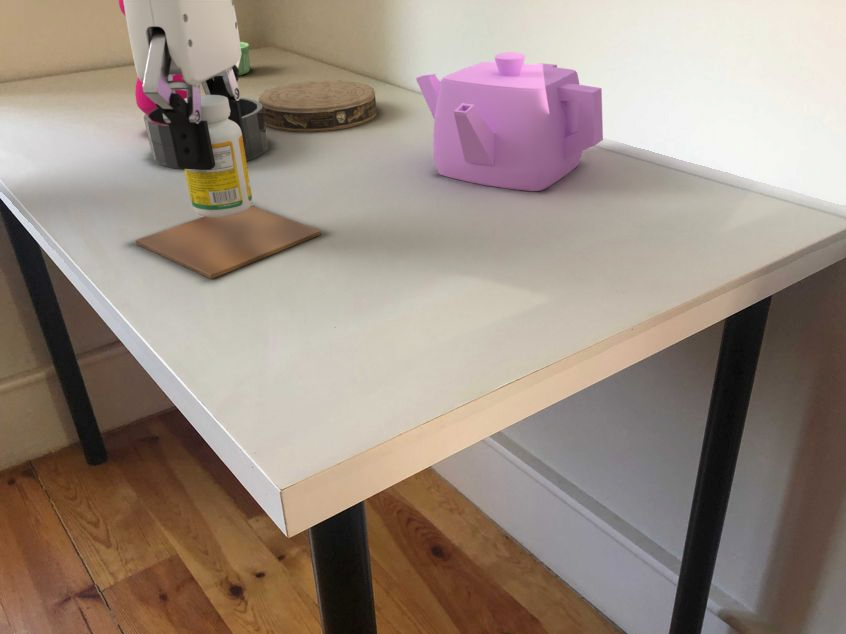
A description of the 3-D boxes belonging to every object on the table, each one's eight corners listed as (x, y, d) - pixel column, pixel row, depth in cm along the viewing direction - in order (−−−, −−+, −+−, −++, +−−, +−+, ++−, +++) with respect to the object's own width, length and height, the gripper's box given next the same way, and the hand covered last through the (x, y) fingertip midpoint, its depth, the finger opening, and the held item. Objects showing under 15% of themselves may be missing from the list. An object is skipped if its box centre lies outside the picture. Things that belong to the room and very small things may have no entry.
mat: (211, 279, 66) (210, 275, 66) (136, 244, 73) (135, 240, 73) (321, 234, 74) (320, 230, 74) (244, 206, 81) (243, 202, 81)
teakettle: (609, 184, 84) (618, 63, 78) (454, 203, 80) (450, 77, 74) (552, 140, 98) (556, 34, 92) (418, 154, 94) (412, 45, 88)
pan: (195, 177, 89) (185, 132, 87) (132, 155, 97) (121, 113, 94) (290, 148, 98) (285, 107, 95) (225, 129, 106) (219, 91, 103)
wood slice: (243, 114, 112) (239, 92, 111) (342, 96, 120) (339, 75, 119) (293, 139, 101) (290, 115, 100) (398, 117, 109) (397, 94, 108)
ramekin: (239, 65, 142) (234, 39, 139) (262, 73, 136) (258, 45, 133) (191, 73, 137) (185, 46, 135) (213, 81, 131) (208, 53, 129)
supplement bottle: (228, 222, 69) (206, 110, 64) (180, 214, 71) (156, 105, 66) (265, 201, 73) (248, 95, 68) (219, 194, 75) (199, 90, 70)
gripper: (178, -83, 68) (217, 129, 77) (54, -69, 54) (121, 188, 63) (260, -84, 67) (290, 131, 76) (156, -71, 52) (208, 192, 62)
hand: (213, 155), depth 69 cm, fingers closed on supplement bottle, 5 cm apart
